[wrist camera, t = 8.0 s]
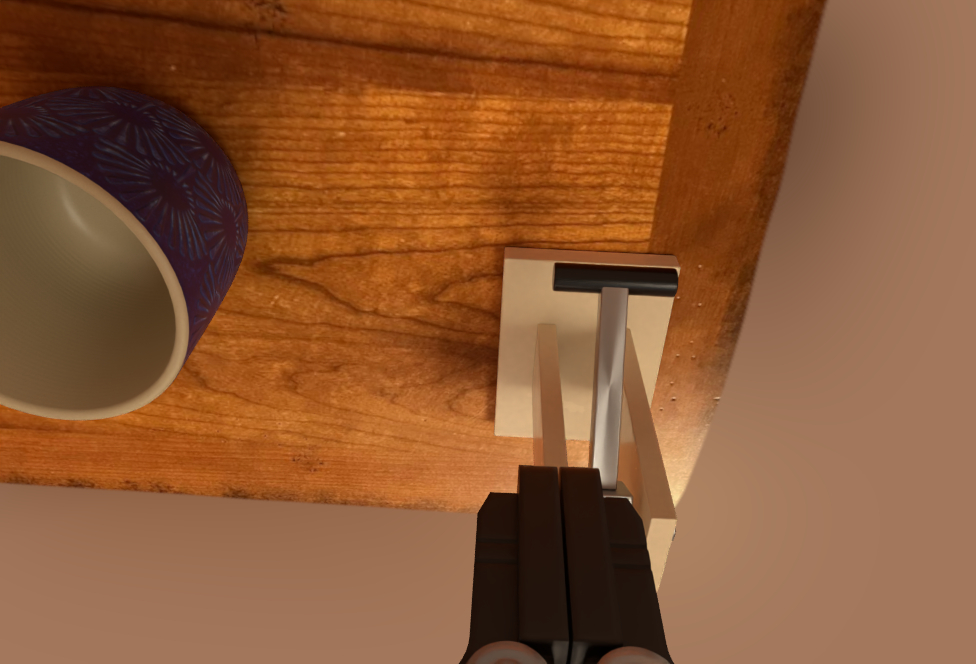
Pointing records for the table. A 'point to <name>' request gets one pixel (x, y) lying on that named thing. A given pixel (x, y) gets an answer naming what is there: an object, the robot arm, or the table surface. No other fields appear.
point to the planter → (108, 248)
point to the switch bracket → (583, 376)
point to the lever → (611, 349)
